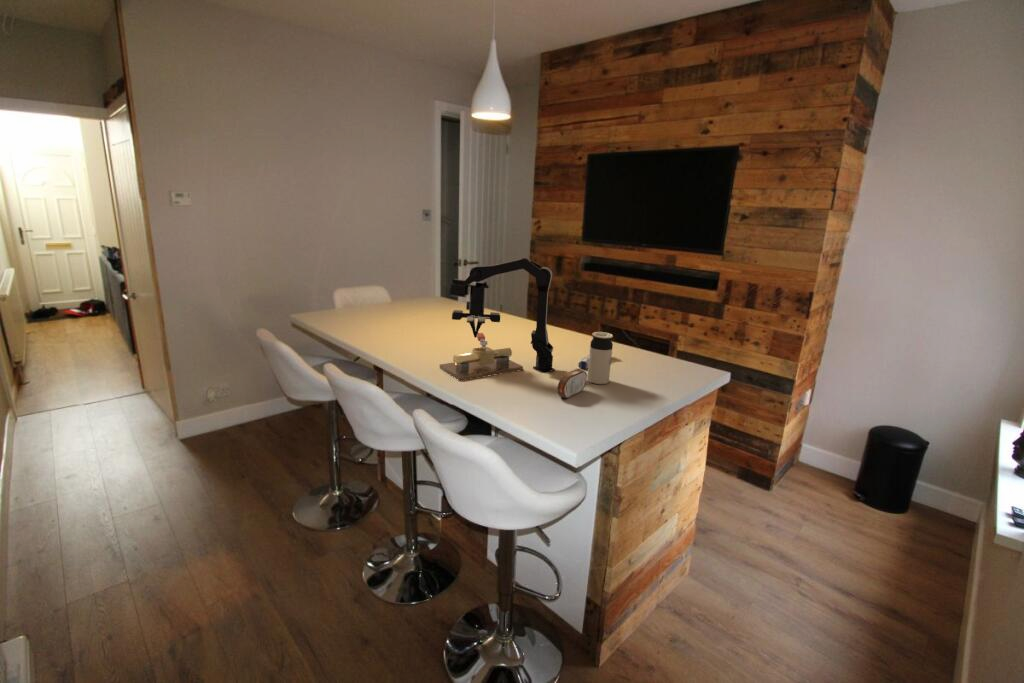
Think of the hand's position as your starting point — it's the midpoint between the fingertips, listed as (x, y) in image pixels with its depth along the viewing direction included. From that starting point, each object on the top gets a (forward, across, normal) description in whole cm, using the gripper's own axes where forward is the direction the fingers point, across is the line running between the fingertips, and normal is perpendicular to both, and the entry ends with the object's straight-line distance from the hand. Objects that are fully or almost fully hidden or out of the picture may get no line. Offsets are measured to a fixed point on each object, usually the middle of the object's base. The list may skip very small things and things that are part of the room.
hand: (475, 337), depth 191 cm
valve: (+11, -4, +9) cm, 14 cm away
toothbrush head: (+10, -51, -6) cm, 52 cm away
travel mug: (+10, -47, +17) cm, 51 cm away
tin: (+10, -35, +32) cm, 48 cm away
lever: (+1, -3, +3) cm, 4 cm away
